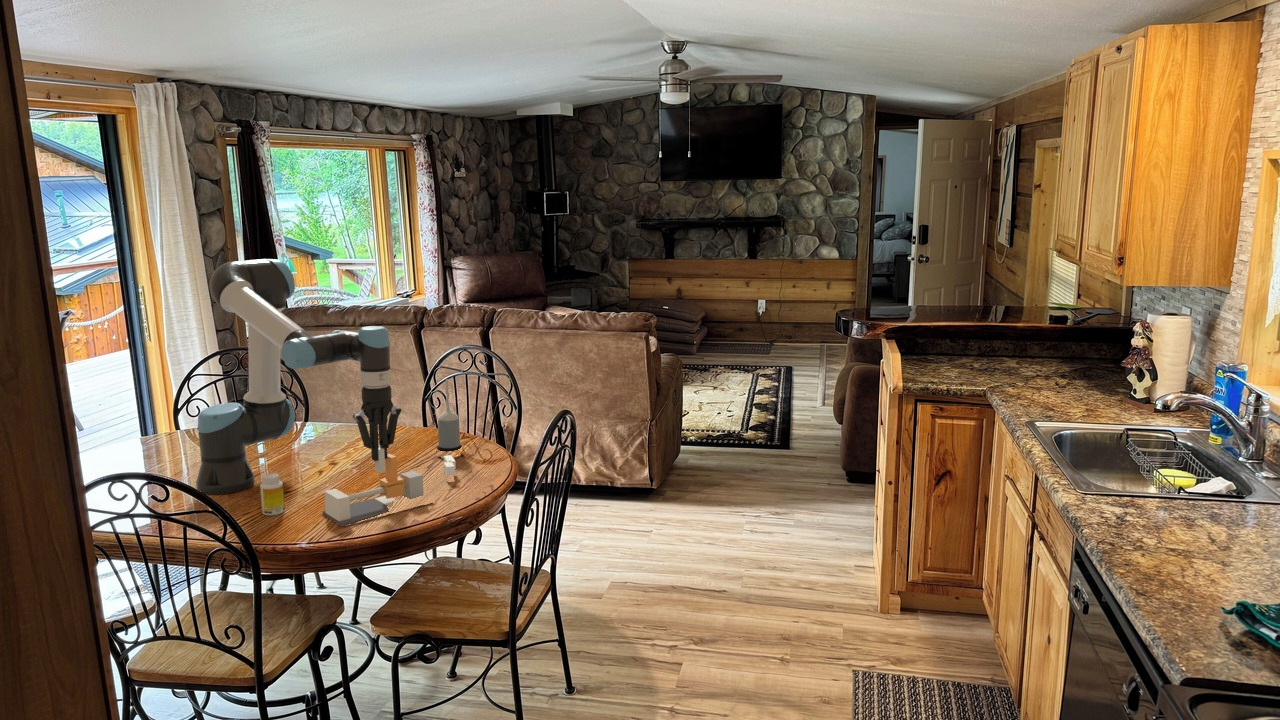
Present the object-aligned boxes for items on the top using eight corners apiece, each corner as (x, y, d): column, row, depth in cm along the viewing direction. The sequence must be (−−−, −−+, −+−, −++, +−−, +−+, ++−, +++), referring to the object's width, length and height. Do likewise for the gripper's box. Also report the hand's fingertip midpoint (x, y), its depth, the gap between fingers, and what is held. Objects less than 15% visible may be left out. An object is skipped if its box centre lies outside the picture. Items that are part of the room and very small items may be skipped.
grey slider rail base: (342, 527, 221) (341, 499, 219) (322, 514, 229) (321, 487, 228) (433, 503, 238) (432, 477, 237) (411, 492, 247) (410, 467, 245)
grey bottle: (440, 450, 286) (437, 376, 282) (465, 451, 286) (463, 377, 281) (433, 458, 278) (431, 382, 274) (459, 458, 278) (456, 382, 273)
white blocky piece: (442, 469, 269) (442, 451, 268) (476, 472, 266) (475, 454, 265) (417, 484, 255) (417, 465, 254) (452, 488, 252) (452, 469, 251)
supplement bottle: (288, 512, 230) (286, 475, 228) (267, 518, 226) (265, 480, 224) (279, 507, 234) (276, 470, 232) (258, 512, 230) (255, 475, 228)
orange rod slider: (387, 498, 233) (385, 459, 231) (380, 495, 236) (378, 456, 234) (404, 494, 236) (402, 455, 234) (397, 490, 239) (395, 452, 237)
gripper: (359, 391, 221) (364, 480, 225) (405, 384, 230) (409, 469, 234) (346, 386, 226) (350, 473, 231) (391, 379, 235) (395, 463, 240)
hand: (380, 471), depth 232 cm, fingers closed
